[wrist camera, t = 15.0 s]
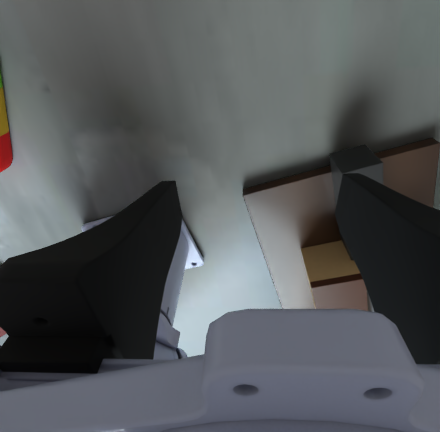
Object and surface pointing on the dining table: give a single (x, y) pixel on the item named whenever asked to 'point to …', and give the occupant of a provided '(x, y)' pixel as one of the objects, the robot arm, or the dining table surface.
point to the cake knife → (355, 163)
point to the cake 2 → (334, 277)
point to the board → (324, 213)
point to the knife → (2, 332)
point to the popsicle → (4, 133)
